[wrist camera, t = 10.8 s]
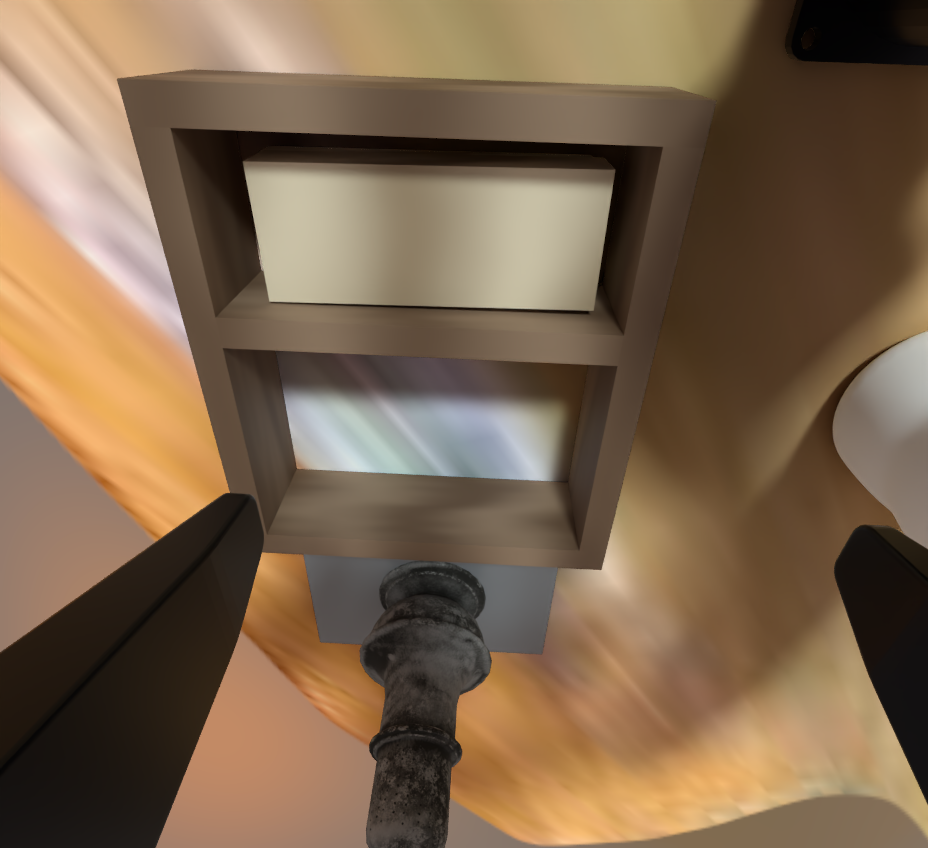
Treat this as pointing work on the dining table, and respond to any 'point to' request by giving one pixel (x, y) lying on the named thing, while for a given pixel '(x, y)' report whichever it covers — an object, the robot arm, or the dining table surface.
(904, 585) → the robot arm
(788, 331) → the dining table surface
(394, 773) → the grey turned upright piece
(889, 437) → the white bottle
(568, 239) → the offcut slab upper
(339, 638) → the slate pad
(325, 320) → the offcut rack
